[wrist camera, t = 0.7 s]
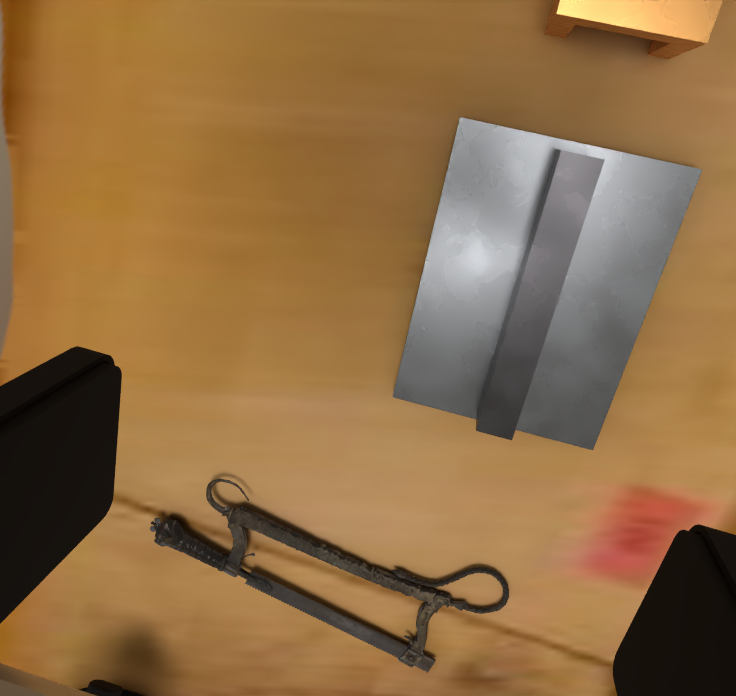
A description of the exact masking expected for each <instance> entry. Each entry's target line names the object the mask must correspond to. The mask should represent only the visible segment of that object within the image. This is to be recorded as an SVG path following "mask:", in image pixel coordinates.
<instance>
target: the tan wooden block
mask: <svg viewBox="0 0 736 696" xmlns="http://www.w3.org/2000/svg"><path fill="white" fill-rule="evenodd" d="M722 1H723V0H554V1H553V5H552V8H551V12H550V16H549V19H548V23H547V26H546V30H545V34H546V35H551V36H556V37H561V38H565V37H566V36H567V35H568V34H569V32H570V31H571V30H572V29H573V28H574V26H575V25H580V26H585V27H590V28H595V29H600V30H605V31H610V32H616V33H621V34H626V35H631V36H636V37H641V38H646V39H651V40H652V43H651V46H650V49H649V52H648V55H651V56H656V57H661V58H666V59H670V58H672V57H675V56H677V55H680V54H682V53H684V52H687V51H689V50H692V49H694V48H697V47H699V46H702V45H704V44H706V43H707V42H708V40H709V37H710V34H711V31H712V29H713V26H714V23H715V20H716V18H717V15H718V12H719V9H720V7H721V4H722Z"/></svg>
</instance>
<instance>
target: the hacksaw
mask: <svg viewBox="0 0 736 696" xmlns="http://www.w3.org/2000/svg"><path fill="white" fill-rule="evenodd" d="M217 482H226V483H231V484H233V485H235V486H236V487H238V488H239V489H240V490H241V492H242V493H243V494H244V496H245V497H246V498H247V496H246V494H245V493H244V492H243V490H242V489H241V488H240V487H239V486H238V485H237V484H236V483H233V482H231V481H229V480H224V479H217V480H214V481H212V482H210V483H209V484H208V486H207V493H206V497H207V501H208V502H209V503H210V505H211V506H212V507H213V508H214V509H216V510H217V511H219V512H220V513H222V516H227V519H228V522H229V523H228V528H229V529H230V530H231V533H232V537H234V541H233V548H232V550H231V553H230V555H228V554H224V553H222V552H221V551H219V550H217V549H216V548H214V547H212V546H211V545H209V544H207V543H205V542H203V541H202V540H200V539H198V538H197V537H196V536H192V535H191V534H190V533H188V532H187V531H186V530H185V529H184V528H183V526H182V525H181V524H180V522H178V521H176V520H172V519H171V518H170V517H168V518H166V519H165V520H164V521H163V523H160V519H159V518H155V519H154V521H155V523H154V522H153V521H152V522H151V524H153V525H154V526H151V527H150V530H151V531H153V532H155V531H156V534H155V537H156V539H155V540H154V541H155V543H157V544H158V545H160V546H168V547H171V548H173V549H175V550H178V551H180V552H184V553H185V554H187V555H189V556H191V557H193V558H196V559H198V560H200V561H202V562H204V563H206V564H208V565H210V566H212V567H215V568H217V569H218V570H219V571H224V572H225V573H227V574H229V575H231V576H233V577H237V575H239V576H241V577H243V578H245V579H247V581H246V583H245V584H247V585H250V586H252V587H253V588H255V589H258V590H260V591H261V592H263V593H266V594H268V595H271V597H274V598H276V599H279V600H281V601H282V602H284V603H287V604H289V605H290V606H291V605H292V607H295V608H297V609H300V611H303V612H305V613H308V615H311V616H313V617H316V618H318V619H319V620H321V621H324V622H326V623H328V624H329V625H332V626H334V627H336V628H339V629H340V630H342V631H344V632H347V634H350V635H352V636H354V637H356V638H358V639H360V640H363V641H365V642H366V643H368V644H371V645H373V646H374V647H376V648H379V649H381V650H383V651H384V652H385V651H386V652H387V653H389V654H391V655H394V656H395V657H397V658H398V661H400V662H402V663H404V664H406V665H408V666H409V667H413V666H416V667H418V668H420V669H423V670H424V671H426V672H427V673H428V671H429V670H430V668H431V667H432V665H433V664H434V662H435V659H433V658H431V657H429V656H427V655H425V654H423V653H424V652H423V649H424V648H425V643H426V637H427V624H428V621H429V619H430V617H431V616H432V615H433V614H434V612H436V613H437V611H438V609H439V608H441V607H442V606H443V605H446V606H447V608H448V606H449V605H450V606H454V607H456V608H457V609H459V610H463V609H465V610H467V611H471V612H474V613H481V614H483V613H489V612H494V611H498V610H500V609H501V608H502V607H504V606H505V605H506V603H507V600H508V598H509V589H508V584H507V583H506V582H505V580H504V579H503V578H502V576H501V575H500V574H498V573H497V572H496V571H494V570H491V569H489V568H484V567H473V568H470V569H467V570H465V571H462V572H460V573H458V574H455V575H454V576H452V577H450V578H447V579H444V580H440V581H438V582H431V581H428V580H422V579H419V578H417V577H413V576H412V575H408V574H407V573H406V572H405V571H403V570H400V569H399V570H392V571H393V572H394V573H395V574H396V575H394V574H391V573H389V572H386V571H384V570H381V569H378V568H375V567H374V566H373V567H369V566H368V565H367V564H366V563H364V562H360V561H359V560H357V559H355V558H353V557H350V556H348V555H344V554H342V553H341V552H340V551H338V550H335V549H333V548H330V547H328V546H326V544H324V543H318V542H316V541H314V540H313V539H312V538H310V537H307V536H305V535H304V534H301V533H299V532H297V531H294V530H292V529H291V528H289V527H286V526H284V525H282V524H279V523H277V522H275V521H273V520H271V519H269V518H267V517H265V516H263V515H261V514H259V513H257V512H255V511H252V510H250V509H248V508H246V507H244V506H240V507H237V508H230V507H228V506H227V505H226V507H222V506H221V505H219V504H218V503H217V502H215V500H214V499H213V497H212V494H211V488H212V486H213V485H214V484H215V483H217ZM247 500H248V501H249V499H248V498H247ZM156 523H157V524H156ZM245 527H246V528H249V529H251V530H254V531H257V532H259V533H261V534H263V535H265V536H267V537H270V538H272V539H274V540H276V541H280V542H281V543H284V544H286V545H287V546H290V547H292V548H295V549H296V550H300V551H302V553H303V552H304V553H306V554H308V555H310V556H313V557H316V558H318V559H320V560H322V561H325V562H327V563H329V564H331V565H333V566H337V567H338V568H339V569H343V570H345V571H347V572H349V573H352V574H354V575H356V576H359V577H362V578H364V579H366V580H369V581H371V582H374V583H376V584H379V585H381V586H382V587H385V588H388V589H391V590H394V591H399V592H401V593H403V594H404V595H406V596H413V597H415V598H417V599H418V600H420V601H425V603H424V605H423V606H422V607H421V608H420V610H419V612H418V616H417V621H416V627H417V637H416V636H415V638H414V641H413V640H412V639H411V638H410V637H409V636H408V635H406V636H404V637H406V638H407V639H409V642H410V644H409V645H408V646H407V645H405V644H402V643H400V642H398V641H396V640H394V639H392V638H390V637H388V636H386V635H384V634H382V633H380V632H378V631H376V630H374V629H372V628H370V627H368V626H365V625H363V624H361V623H359V622H357V621H355V620H353V619H351V618H349V617H347V616H345V615H343V614H341V613H339V612H337V611H335V610H333V609H330V608H328V607H326V606H324V605H322V604H320V603H318V602H316V601H314V600H312V599H310V598H308V597H306V596H304V595H302V594H300V593H298V592H296V591H293V590H291V589H289V588H287V587H285V586H283V585H281V584H279V583H277V582H275V581H273V580H271V579H269V578H267V577H265V576H263V575H261V574H258V573H256V572H254V571H251V573H249V572H247V571H245V570H244V569H242V568H241V567H242V563H241V560H242V558H244V557H247V556H249V555H253V556H255V554H254V553H252V554H249V555H246V556H243V555H244V553H245V550H246V547H247V532H246V528H245ZM474 573H486V574H490V575H492V576H494V577H495V578H496V579H497V580H498V581H499V582H500V583H501V585H502V587H503V597H502V600H501V602H499V603H498V604H497V605H494V606H491V607H486V608H477V607H471V606H469V605H466V602H464V601H460V602H455V601H453V600H452V599H451V595H449V594H447V593H443V592H439V591H438V592H436V590H435V589H434V590H433V589H431V588H426V587H421V586H420V585H425V586H427V587H438V586H443V585H445V584H449V583H450V582H454V581H456V580H459V579H460V578H463V577H465V576H467V575H469V574H474ZM406 579H407V580H406ZM408 580H409V581H408ZM411 581H412V582H411ZM417 583H419V584H420V585H419V584H417Z"/></svg>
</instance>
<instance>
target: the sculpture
mask: <svg viewBox="0 0 736 696" xmlns="http://www.w3.org/2000/svg"><path fill="white" fill-rule="evenodd" d="M81 691H84V692H87V693H90V694H93V695H96V696H142V695H140V694H137V693H134V692H130V691H127V690H123V689H122V687H120V686H118V685H115V684H112V683H109V682H106V681H103V680H93V681H91V682H90V683H89V686H88V688H84V689H81Z"/></svg>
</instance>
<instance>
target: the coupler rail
mask: <svg viewBox="0 0 736 696" xmlns="http://www.w3.org/2000/svg"><path fill="white" fill-rule="evenodd" d="M701 171H702V169H698V168H693V167H688V166H684V165H679V164H675V163H670V162H665V161H661V160H656V159H651V158H647V157H642V156H638V155H633V154H628V153H624V152H619V151H614V150H610V149H605V148H601V147H596V146H591V145H587V144H582V143H577V142H573V141H568V140H564V139H559V138H554V137H550V136H545V135H540V134H536V133H531V132H527V131H522V130H517V129H513V128H508V127H503V126H499V125H494V124H490V123H485V122H480V121H476V120H471V119H466V118H462V117H460V120H459V124H458V128H457V132H456V137H455V141H454V145H453V149H452V153H451V157H450V161H449V166H448V170H447V174H446V178H445V182H444V186H443V190H442V195H441V199H440V203H439V207H438V211H437V215H436V219H435V223H434V228H433V232H432V236H431V240H430V244H429V248H428V252H427V257H426V261H425V265H424V269H423V273H422V277H421V281H420V286H419V290H418V294H417V298H416V302H415V306H414V310H413V315H412V319H411V323H410V327H409V331H408V335H407V339H406V343H405V348H404V352H403V356H402V360H401V364H400V368H399V372H398V377H397V381H396V385H395V389H394V393H393V397H394V398H398V399H402V400H406V401H409V402H413V403H417V404H421V405H425V406H428V407H432V408H436V409H440V410H443V411H447V412H451V413H455V414H458V415H462V416H466V417H470V418H473V419H476V431H479V432H483V433H487V434H490V435H494V436H498V437H502V438H505V439H509V440H512V438H513V435H514V432H515V430H519V431H522V432H526V433H530V434H534V435H537V436H541V437H545V438H549V439H552V440H556V441H560V442H564V443H567V444H571V445H575V446H579V447H583V448H586V449H590V450H593V448H594V446H595V443H596V441H597V438H598V436H599V433H600V430H601V428H602V425H603V423H604V420H605V418H606V415H607V413H608V410H609V407H610V405H611V402H612V400H613V397H614V395H615V392H616V389H617V387H618V384H619V382H620V379H621V377H622V374H623V371H624V369H625V366H626V364H627V361H628V359H629V356H630V354H631V351H632V348H633V346H634V343H635V341H636V338H637V336H638V333H639V330H640V328H641V325H642V323H643V320H644V318H645V315H646V313H647V310H648V307H649V305H650V302H651V300H652V297H653V295H654V292H655V289H656V287H657V284H658V282H659V279H660V277H661V274H662V271H663V269H664V266H665V264H666V261H667V259H668V256H669V254H670V251H671V248H672V246H673V243H674V241H675V238H676V236H677V233H678V230H679V228H680V225H681V223H682V220H683V218H684V215H685V212H686V210H687V207H688V205H689V202H690V200H691V197H692V195H693V192H694V189H695V187H696V184H697V182H698V179H699V177H700V174H701Z"/></svg>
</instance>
